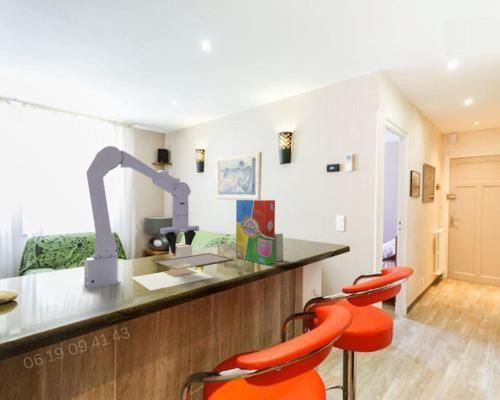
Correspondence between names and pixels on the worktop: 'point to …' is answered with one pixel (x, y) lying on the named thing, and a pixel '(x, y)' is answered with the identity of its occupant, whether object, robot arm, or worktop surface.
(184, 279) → the mat
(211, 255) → the picture frame
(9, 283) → the worktop surface
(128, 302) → the worktop surface
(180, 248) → the card box
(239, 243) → the game box
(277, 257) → the skincare box
